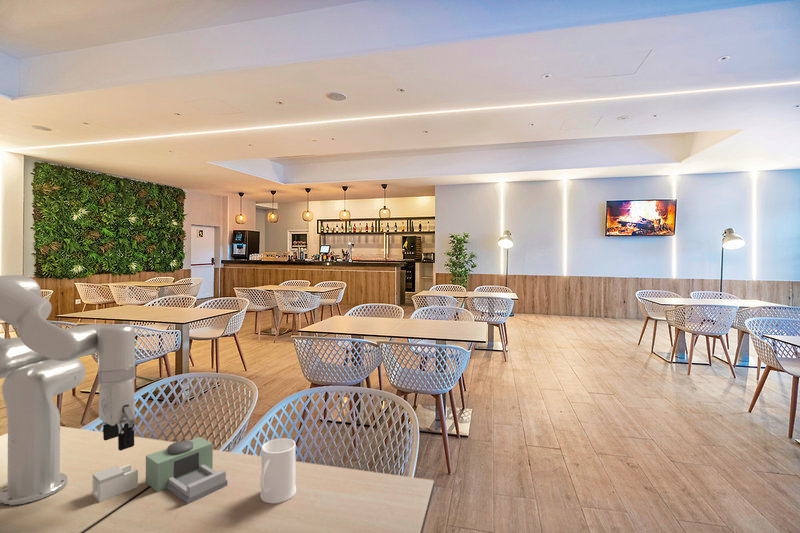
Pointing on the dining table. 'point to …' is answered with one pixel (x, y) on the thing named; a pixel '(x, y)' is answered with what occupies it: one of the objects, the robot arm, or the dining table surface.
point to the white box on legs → (114, 482)
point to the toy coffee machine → (185, 470)
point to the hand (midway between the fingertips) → (118, 443)
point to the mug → (278, 471)
